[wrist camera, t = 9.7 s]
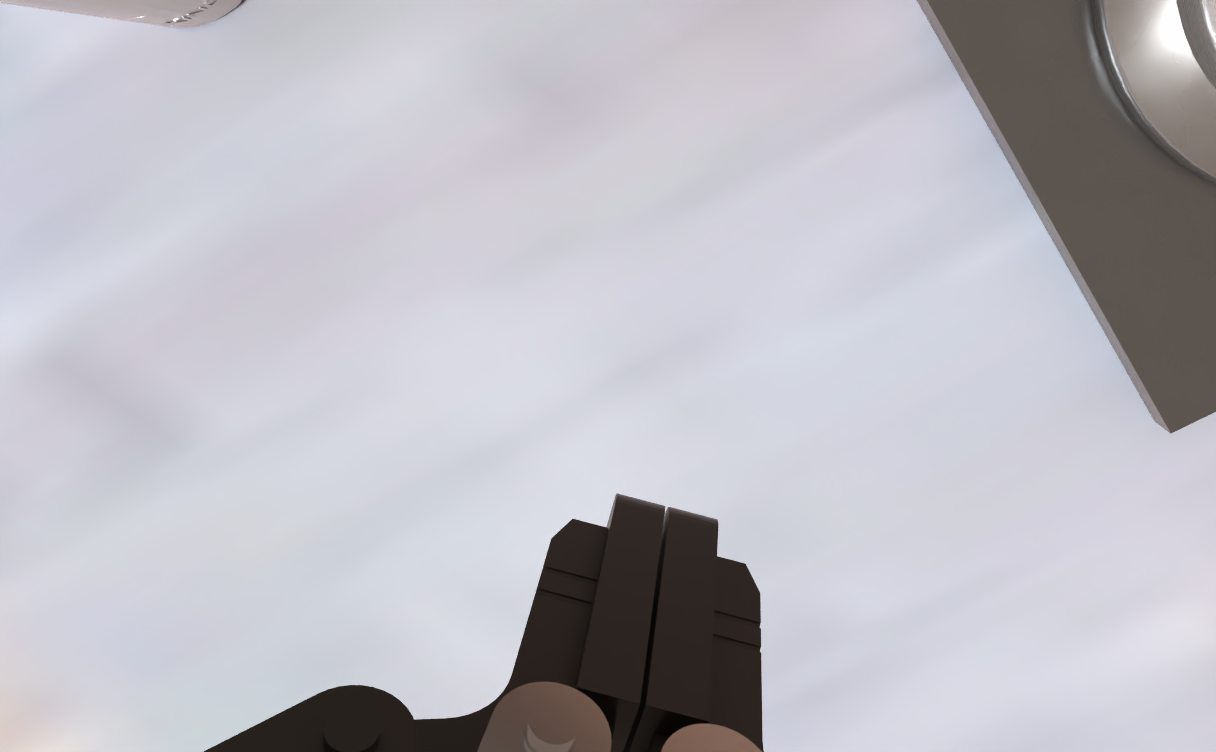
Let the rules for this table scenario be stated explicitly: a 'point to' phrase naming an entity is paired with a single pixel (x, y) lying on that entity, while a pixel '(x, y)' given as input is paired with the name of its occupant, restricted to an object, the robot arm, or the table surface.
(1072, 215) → the base plate
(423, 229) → the table surface
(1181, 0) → the grey disc with handle
